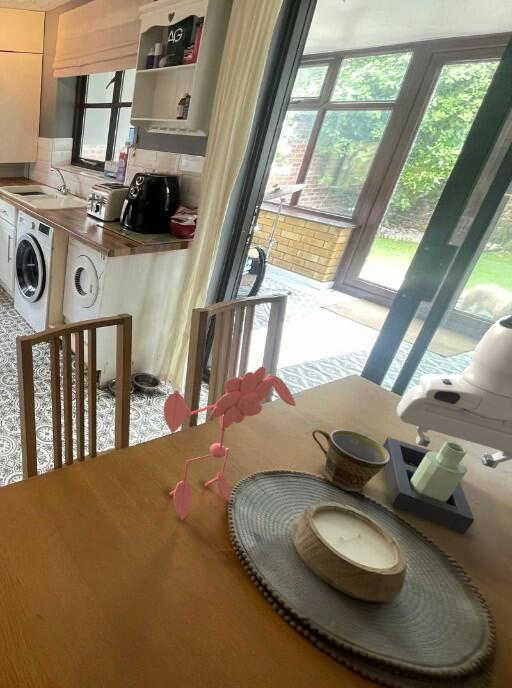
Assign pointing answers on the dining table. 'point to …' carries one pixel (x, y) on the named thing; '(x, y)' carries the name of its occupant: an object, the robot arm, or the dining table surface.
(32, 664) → the dining table surface
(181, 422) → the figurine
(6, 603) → the dining table surface
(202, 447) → the dining table surface
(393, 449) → the holder
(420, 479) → the bottle
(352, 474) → the ceramic cup
